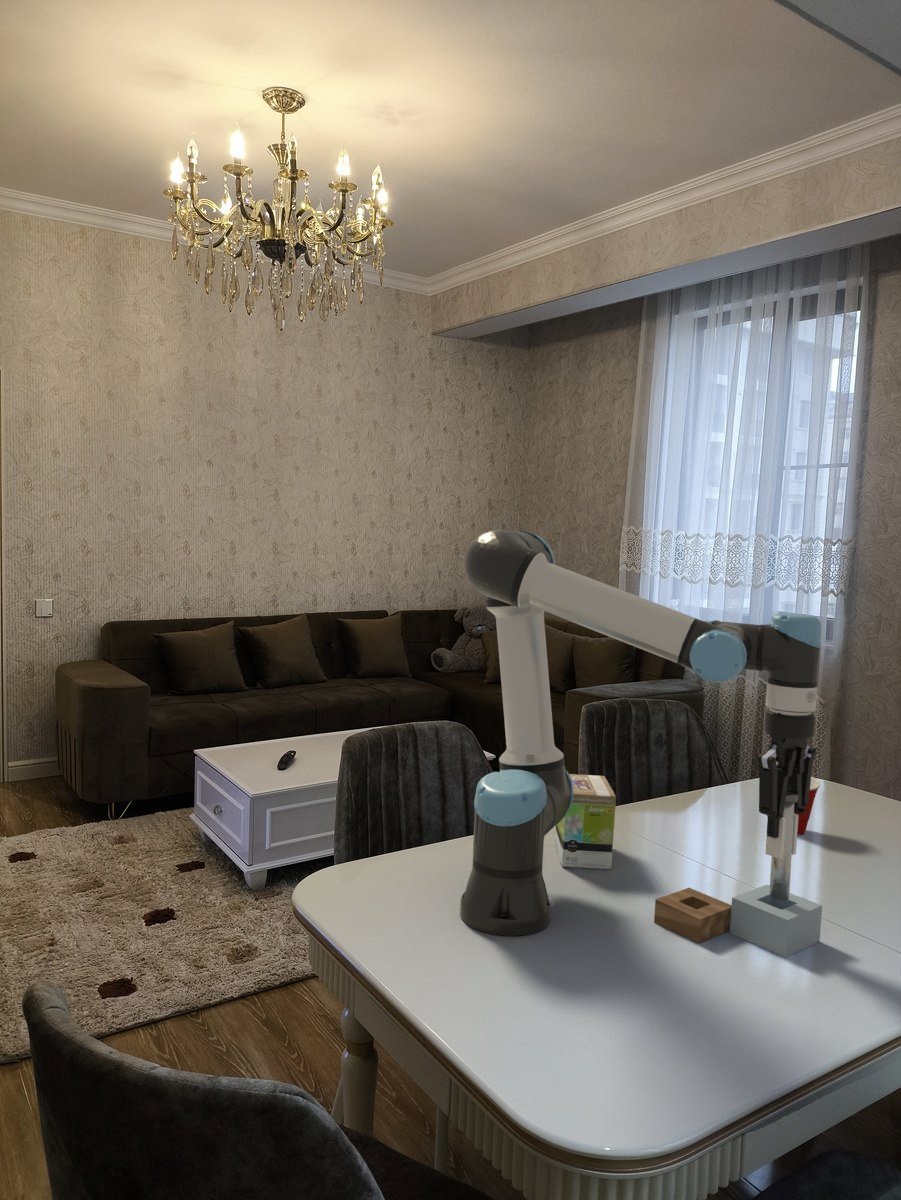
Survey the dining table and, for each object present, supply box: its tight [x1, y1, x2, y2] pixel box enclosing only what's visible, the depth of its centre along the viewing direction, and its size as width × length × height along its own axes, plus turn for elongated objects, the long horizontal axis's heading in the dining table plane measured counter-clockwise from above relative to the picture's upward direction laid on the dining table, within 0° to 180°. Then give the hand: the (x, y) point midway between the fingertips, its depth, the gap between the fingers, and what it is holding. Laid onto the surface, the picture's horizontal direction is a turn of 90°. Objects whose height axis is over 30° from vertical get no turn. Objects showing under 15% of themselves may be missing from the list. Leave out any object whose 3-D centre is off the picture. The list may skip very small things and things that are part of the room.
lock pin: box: [769, 791, 798, 900], centre depth 143 cm, size 4×4×17 cm
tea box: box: [554, 773, 617, 870], centre depth 178 cm, size 15×10×15 cm, turn 179°
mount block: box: [653, 887, 732, 944], centre depth 148 cm, size 9×9×4 cm
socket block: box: [729, 884, 823, 958], centre depth 145 cm, size 10×10×6 cm
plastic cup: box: [797, 776, 822, 836], centre depth 198 cm, size 11×11×12 cm
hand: (780, 853), depth 144 cm, fingers closed on lock pin, 3 cm apart
